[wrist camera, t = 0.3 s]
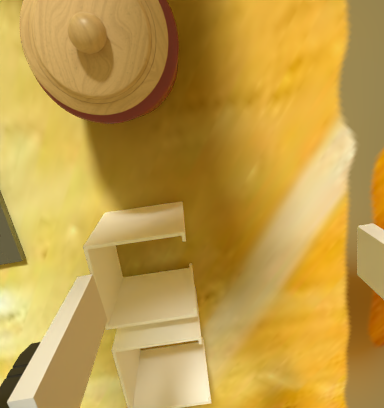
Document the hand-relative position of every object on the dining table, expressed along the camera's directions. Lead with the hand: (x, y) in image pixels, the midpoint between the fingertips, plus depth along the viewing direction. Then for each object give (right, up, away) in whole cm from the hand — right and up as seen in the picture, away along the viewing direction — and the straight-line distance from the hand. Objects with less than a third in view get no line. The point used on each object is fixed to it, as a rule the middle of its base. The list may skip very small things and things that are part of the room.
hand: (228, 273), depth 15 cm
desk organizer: (-7, -9, +32) cm, 34 cm away
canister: (-10, +21, +22) cm, 32 cm away
